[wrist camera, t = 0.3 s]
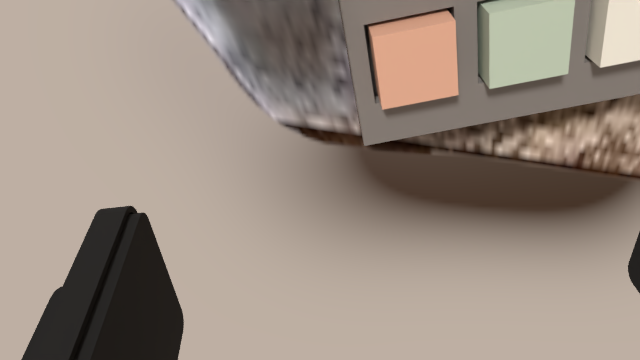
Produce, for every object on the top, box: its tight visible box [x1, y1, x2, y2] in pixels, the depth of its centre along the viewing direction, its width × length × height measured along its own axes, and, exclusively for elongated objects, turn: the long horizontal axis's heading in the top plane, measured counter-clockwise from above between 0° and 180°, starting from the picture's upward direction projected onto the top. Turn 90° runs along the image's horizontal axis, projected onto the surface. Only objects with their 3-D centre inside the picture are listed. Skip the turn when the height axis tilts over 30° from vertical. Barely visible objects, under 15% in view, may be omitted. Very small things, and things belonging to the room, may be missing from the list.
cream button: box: [585, 0, 640, 68], centre depth 33 cm, size 5×5×2 cm
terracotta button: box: [367, 8, 459, 110], centre depth 34 cm, size 5×5×2 cm
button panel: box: [338, 0, 640, 146], centre depth 35 cm, size 22×12×4 cm, turn 101°
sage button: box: [477, 0, 575, 89], centre depth 34 cm, size 5×5×2 cm
